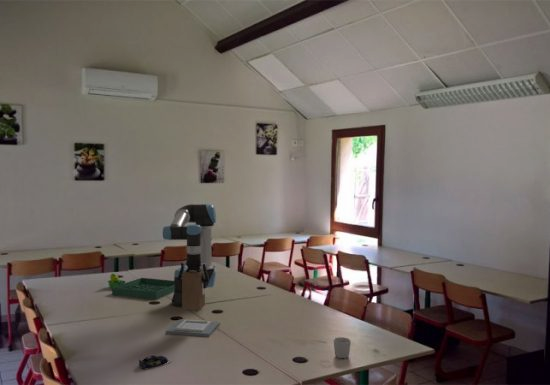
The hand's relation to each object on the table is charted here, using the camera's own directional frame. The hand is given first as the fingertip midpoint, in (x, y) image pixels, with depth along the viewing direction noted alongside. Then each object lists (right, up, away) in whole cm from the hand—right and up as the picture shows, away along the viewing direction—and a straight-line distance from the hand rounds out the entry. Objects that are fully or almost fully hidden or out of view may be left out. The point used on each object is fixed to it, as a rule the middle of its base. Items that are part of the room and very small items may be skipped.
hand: (193, 293), depth 269 cm
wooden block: (0, -8, 0) cm, 8 cm away
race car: (-10, -23, -47) cm, 53 cm away
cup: (+76, -22, -35) cm, 87 cm away
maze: (-45, -16, +81) cm, 95 cm away
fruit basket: (-71, -15, +90) cm, 116 cm away
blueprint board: (0, -20, +1) cm, 20 cm away
